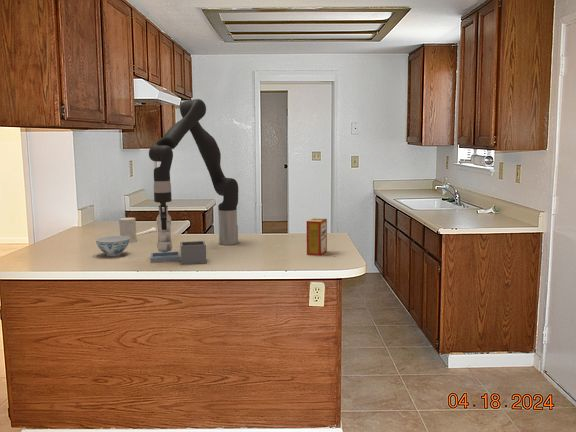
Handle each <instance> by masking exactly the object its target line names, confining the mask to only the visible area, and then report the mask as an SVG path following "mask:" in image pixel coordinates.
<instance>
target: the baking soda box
mask: <svg viewBox="0 0 576 432" xmlns="http://www.w3.org/2000/svg"><path fill="white" fill-rule="evenodd" d="M327 225H328V219H327V218H318V217H317V218H316V217H314V218H313V217H312V218H310V219H308V220H306V256H315V257H321V256H322V255H324V254H326V253H327V252H328V230H327V229H328V226H327Z"/></svg>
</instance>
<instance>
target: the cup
mask: <svg viewBox="0 0 576 432" xmlns="http://www.w3.org/2000/svg"><path fill="white" fill-rule="evenodd" d="M118 219H119V221H118V222H119V223H118V224H119V236H127V237H129V238H130V239H129V243H128V244H131V243H136V242H137V240H138V239H137V236H136V233H137V225H136V223H137V221H136V217H121V218H118Z"/></svg>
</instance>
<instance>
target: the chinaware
mask: <svg viewBox="0 0 576 432" xmlns="http://www.w3.org/2000/svg"><path fill="white" fill-rule="evenodd" d="M129 239H130V238H129V237H127V236H120V235H110V236H109V235H108V236H102V237H97V238H96V239H95V242H96V245H97V247H98V248H99V250H100V251H101V252H102V253H103V254H105V256H106V257H119V256H121V255H122V253H123V252H124V251H125V250H126V249H127V248H128V246H129V244H130V243H129Z"/></svg>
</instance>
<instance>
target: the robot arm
mask: <svg viewBox="0 0 576 432" xmlns="http://www.w3.org/2000/svg"><path fill="white" fill-rule="evenodd" d="M179 111H180V116H181V119H180V120H179V121H177V122H176V123H174V124H173V125H172V126H170V128H169V129H168V130H167V131H166V132H165V134H164V135H163V137H161V138H160V139H158V140H157V141H156V142H154V143H153V144H152V145H151V147H150V149H148V157H149V159H150V160H151V161H153V162H160V165H159V166H158V167H155V168H154V169H153V201H154V202H155V203H159V205H158V212H159V213H160V217H161V227H162V230H166V229H167V223H166V221H167V218H166V217H167V216H168V214H169V213H168V212H167V210H168V211H169V207H168V205H167V203H170V202H172V185H171V184H172V183H171V168H172V162H173V159H174V158H173V157H174V151H173V150H174V149H175V148H176V147H177V146H178V145H179V143H180V142H181V141H182V140H183V138H184V137H185V135H187V133H188V132H190V134H191V135H192V138H193V140H194V142H195V144H196V146H197V148H198V151H199V154H200V156H201V158H202V160H203V162H204V165H205V166H206V169H207V171H208V173H209V177H210V180H211V183H212V186H213V189H214V191H215V193H216V194H218V196H222V197H223V199H222V202H221V203H219V204H218V207H217V208H218V209H217V210H218V212H217V213H218V243H219V245H222V246H230V245H237V244H238V245H239V226H238V204H239V184H238V181H237V180H236V179H235V178H231V177H226V176H225V174H224V172H223V170H222V168H221V157H222V155H221V149H220V147H219V145H218V142H217V141H216V139H215V137H213V136H212V135H211V134H210V133H209V132H208V131H207V130H205V129H204V127H203V126H202V125H201V123H200V122H199V121H200V120H202V119H203V117H205V115H206V113H207V106H206V104H205V102H204V101H203V100H202V99H200V98H196V99H195V98H193V99H190V100H185V101H182V102H181V103H180V105H179ZM159 213H158V214H159ZM167 213H168V214H167ZM162 217H165V218H162Z"/></svg>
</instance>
